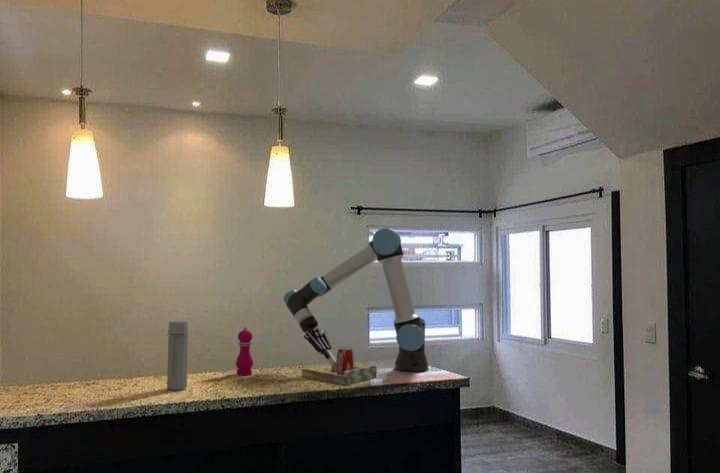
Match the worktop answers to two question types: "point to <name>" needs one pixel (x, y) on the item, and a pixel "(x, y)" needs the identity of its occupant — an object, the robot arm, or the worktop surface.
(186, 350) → the water bottle
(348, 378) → the wooden tray
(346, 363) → the soda can
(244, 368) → the pepper mill
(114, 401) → the worktop surface
